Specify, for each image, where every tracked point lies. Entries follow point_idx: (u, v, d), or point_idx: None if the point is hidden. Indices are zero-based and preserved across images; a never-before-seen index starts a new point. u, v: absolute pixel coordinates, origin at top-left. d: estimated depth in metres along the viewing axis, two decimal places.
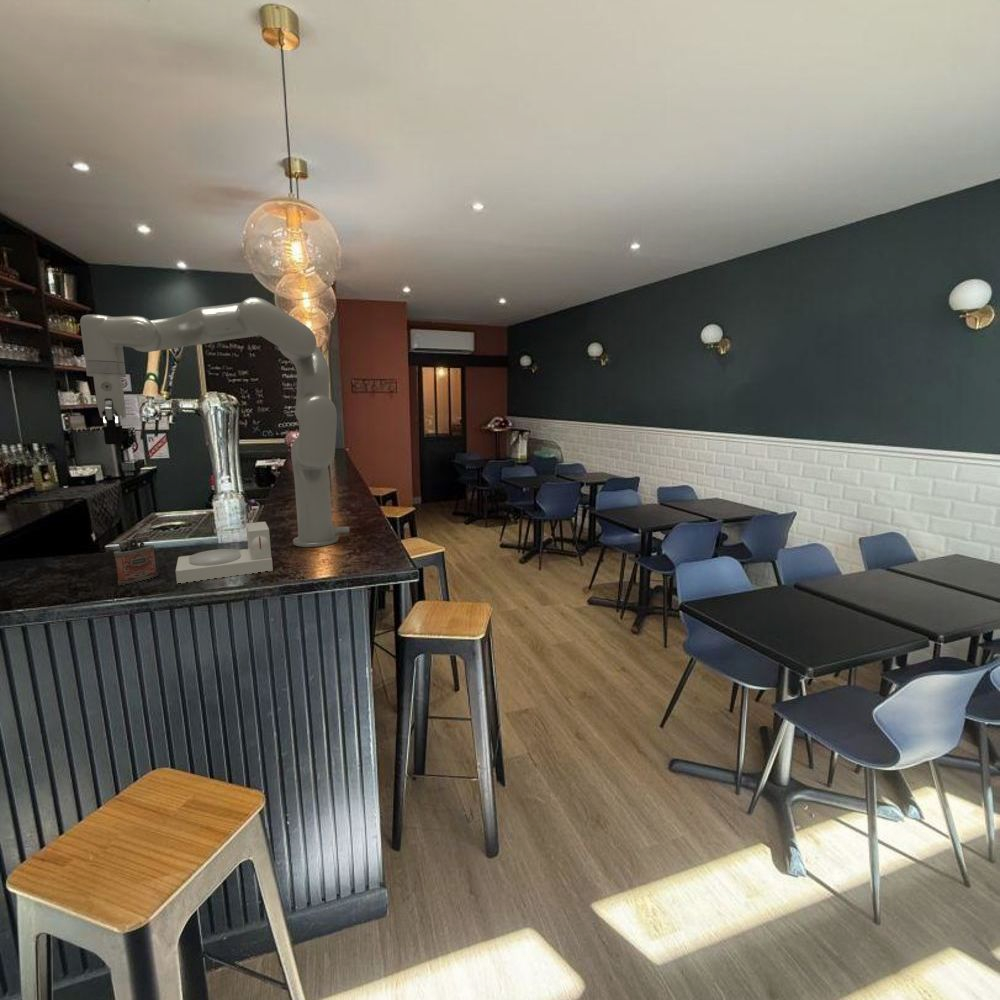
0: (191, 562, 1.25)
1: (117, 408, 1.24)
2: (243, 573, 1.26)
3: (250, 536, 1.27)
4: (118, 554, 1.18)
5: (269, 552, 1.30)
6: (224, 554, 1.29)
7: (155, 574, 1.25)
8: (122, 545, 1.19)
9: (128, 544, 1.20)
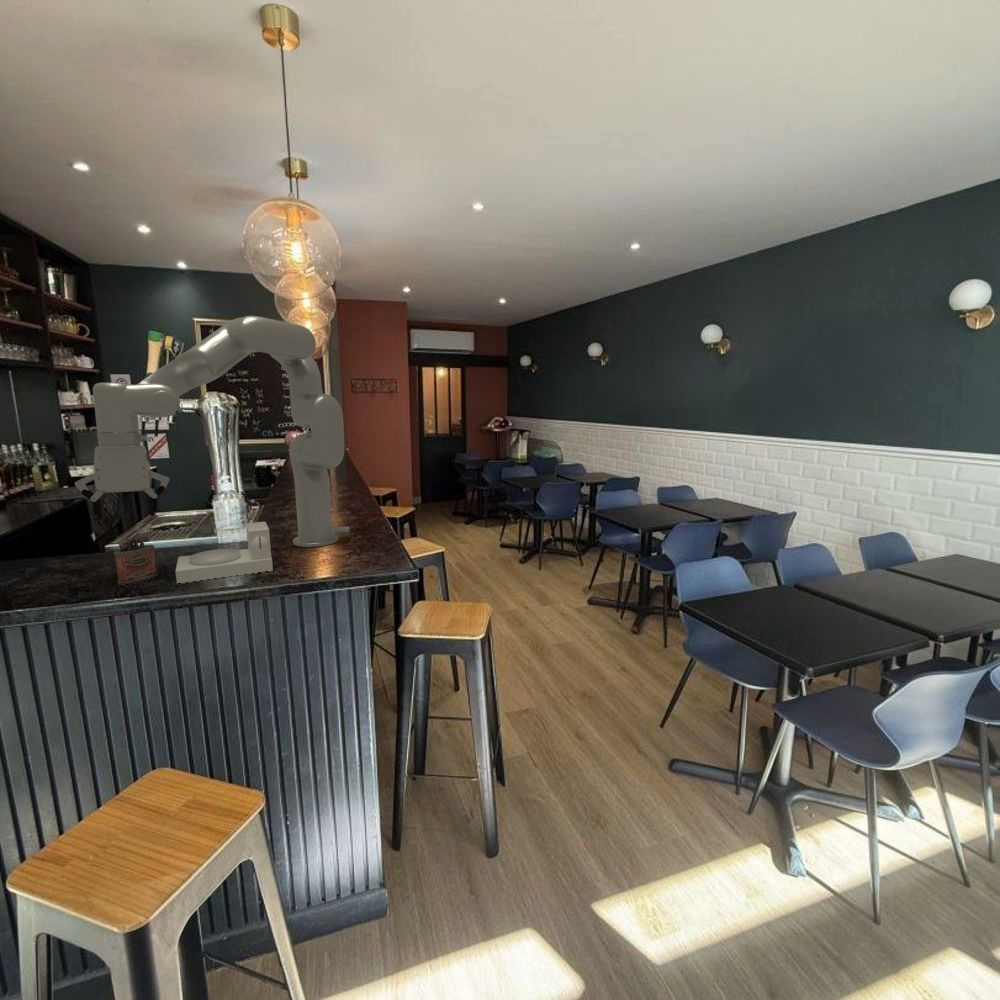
0: (191, 562, 1.25)
1: (151, 478, 1.22)
2: (243, 573, 1.26)
3: (250, 536, 1.27)
4: (118, 554, 1.18)
5: (269, 552, 1.30)
6: (224, 554, 1.29)
7: (155, 574, 1.25)
8: (122, 545, 1.19)
9: (128, 544, 1.20)
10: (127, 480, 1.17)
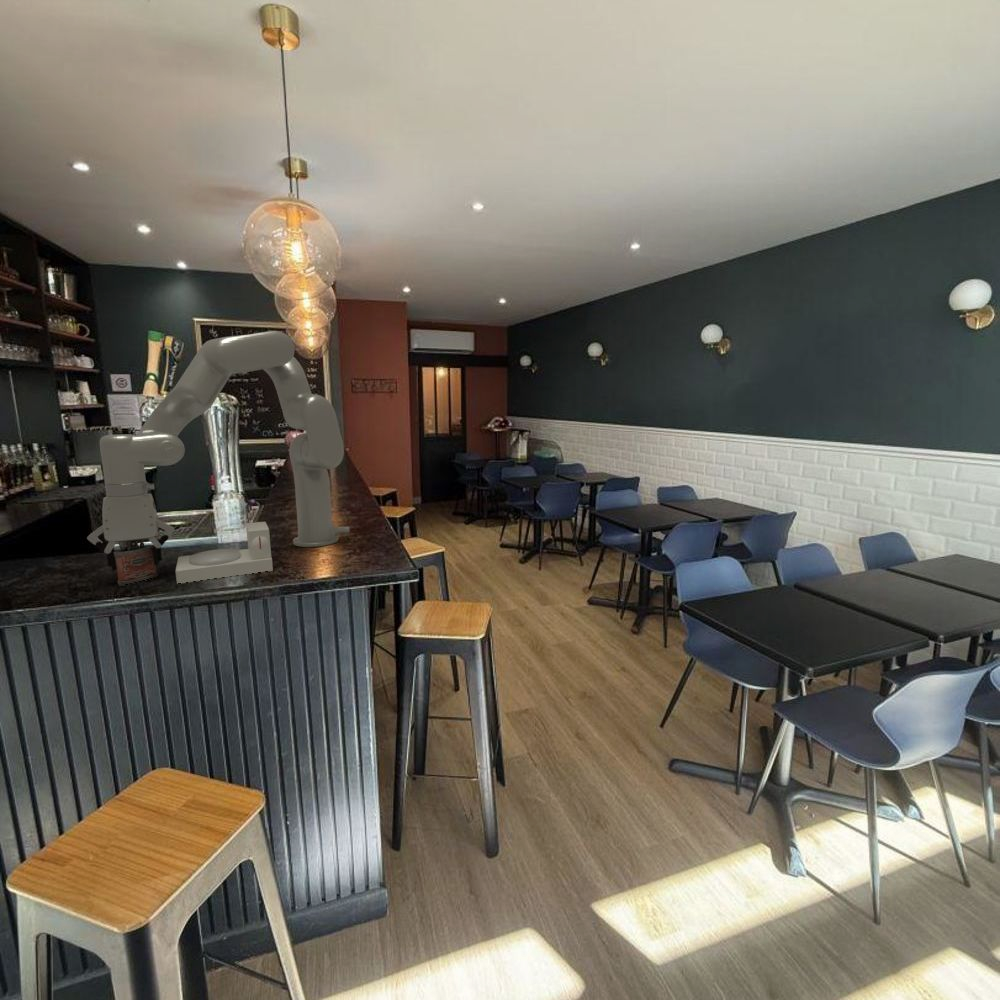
0: (191, 562, 1.25)
1: (158, 527, 1.24)
2: (243, 573, 1.26)
3: (250, 536, 1.27)
4: (118, 554, 1.18)
5: (269, 552, 1.30)
6: (224, 554, 1.29)
7: (155, 574, 1.25)
8: (122, 545, 1.19)
9: (128, 544, 1.20)
10: (135, 529, 1.19)
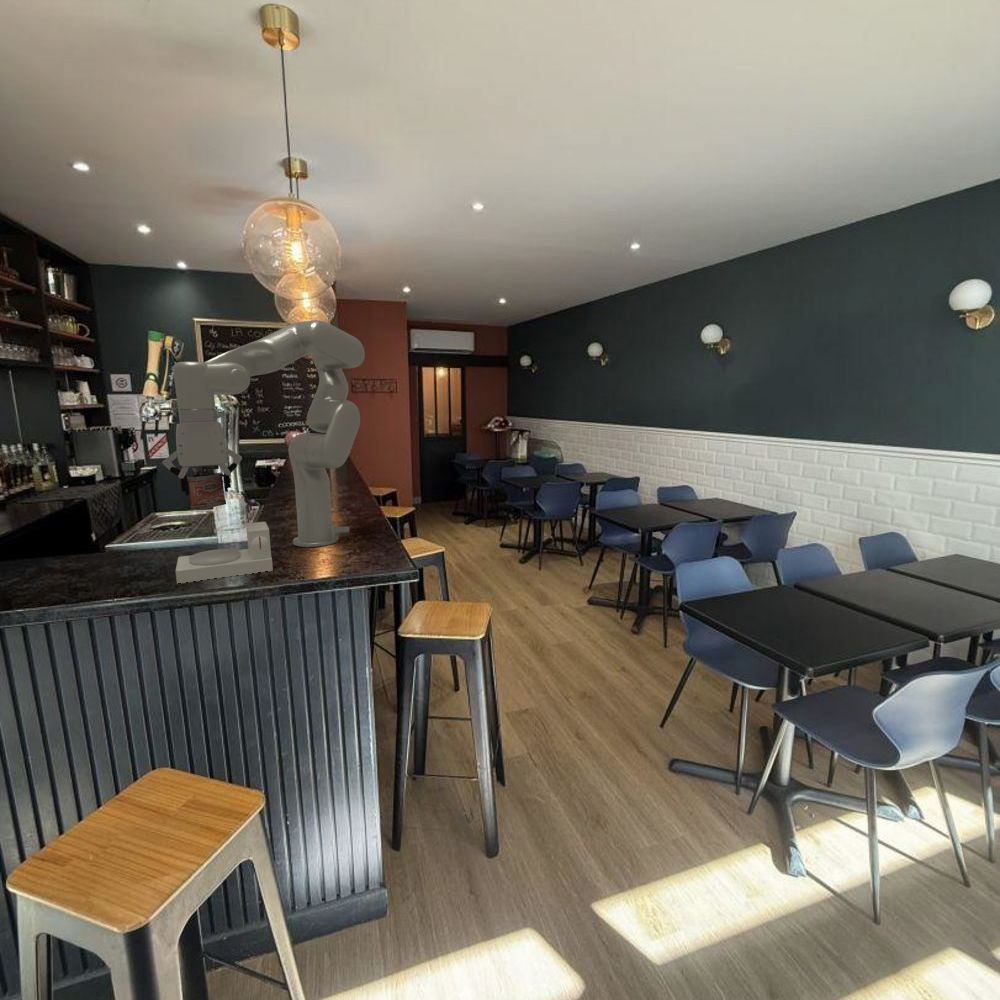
0: (191, 562, 1.25)
1: None
2: (243, 573, 1.26)
3: (250, 536, 1.27)
4: (191, 479, 1.22)
5: (269, 552, 1.30)
6: (224, 554, 1.29)
7: (224, 501, 1.29)
8: (195, 470, 1.23)
9: (200, 470, 1.24)
10: (206, 455, 1.23)
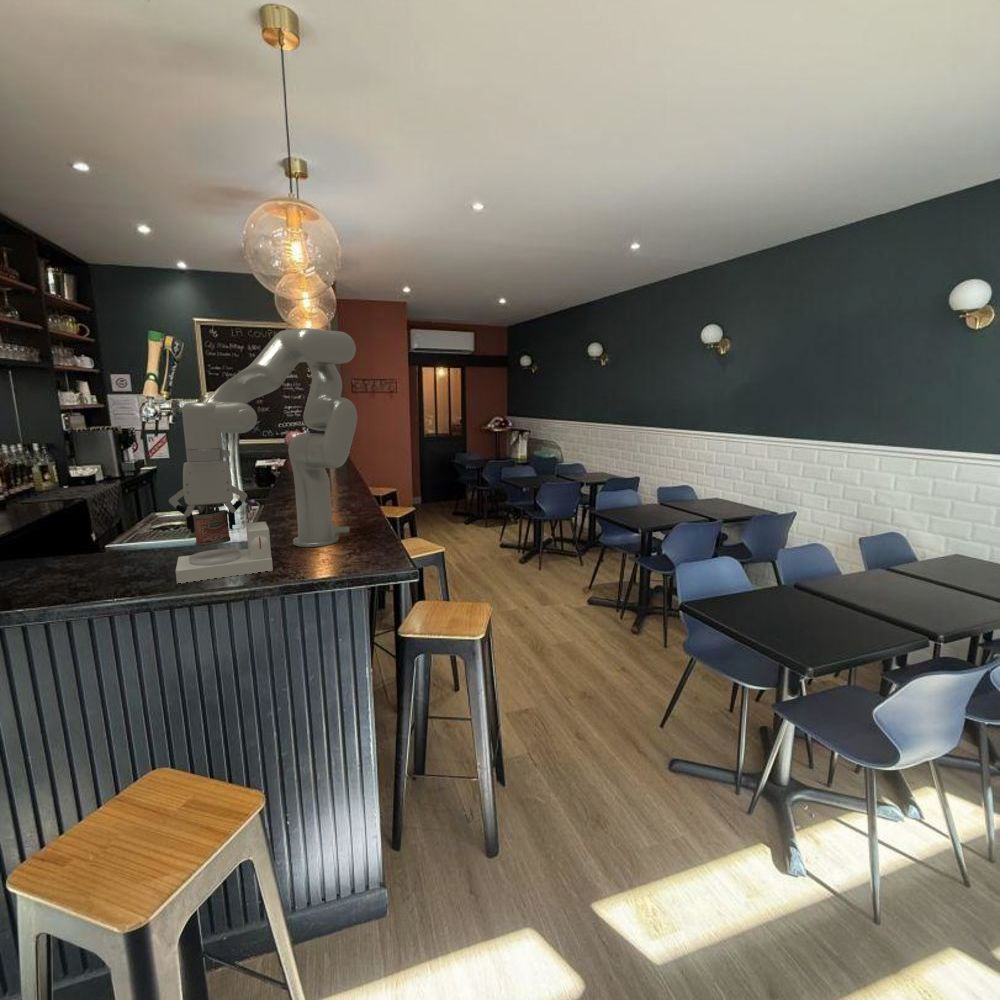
0: (191, 562, 1.25)
1: None
2: (243, 573, 1.26)
3: (250, 536, 1.27)
4: (197, 517, 1.23)
5: (269, 552, 1.30)
6: (224, 554, 1.29)
7: (228, 538, 1.30)
8: (200, 508, 1.24)
9: (206, 508, 1.25)
10: (212, 493, 1.25)
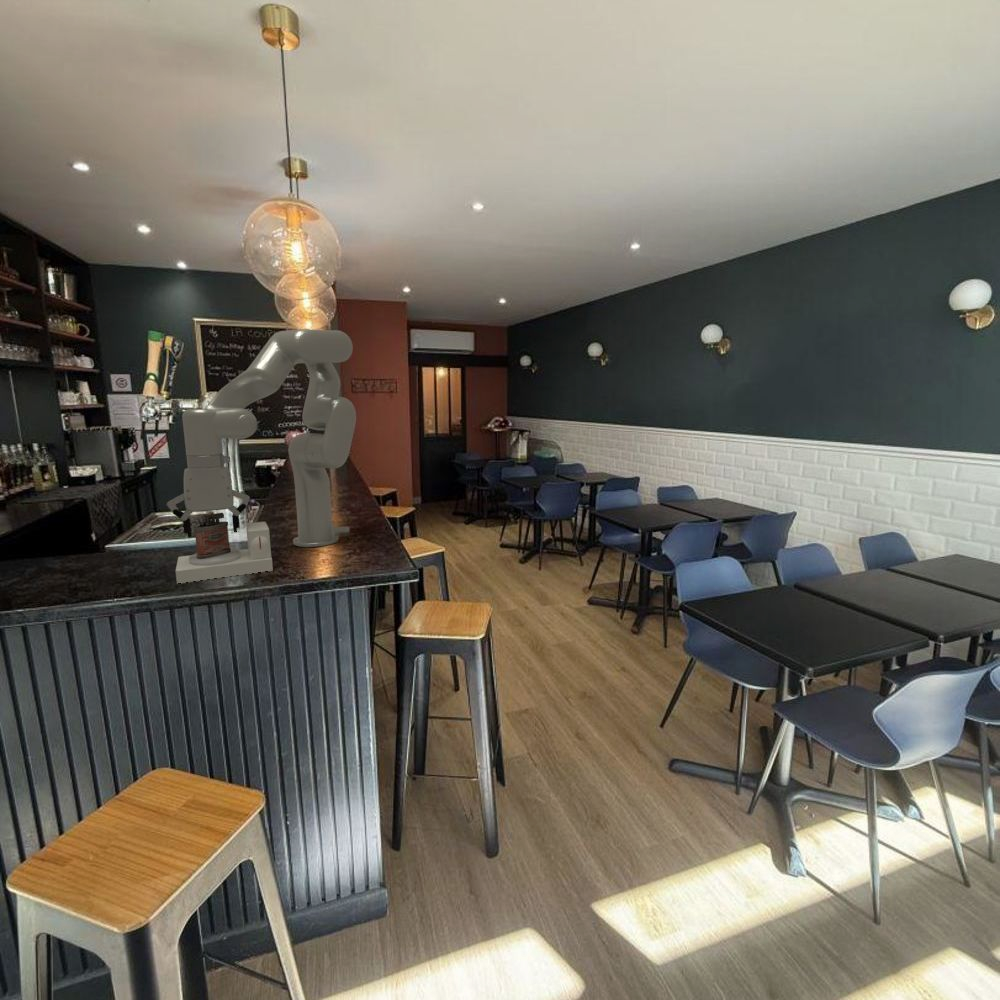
0: (191, 562, 1.25)
1: None
2: (243, 573, 1.26)
3: (250, 536, 1.27)
4: (198, 529, 1.24)
5: (269, 552, 1.30)
6: (224, 554, 1.29)
7: (229, 549, 1.31)
8: (201, 521, 1.25)
9: (207, 520, 1.26)
10: (213, 499, 1.25)
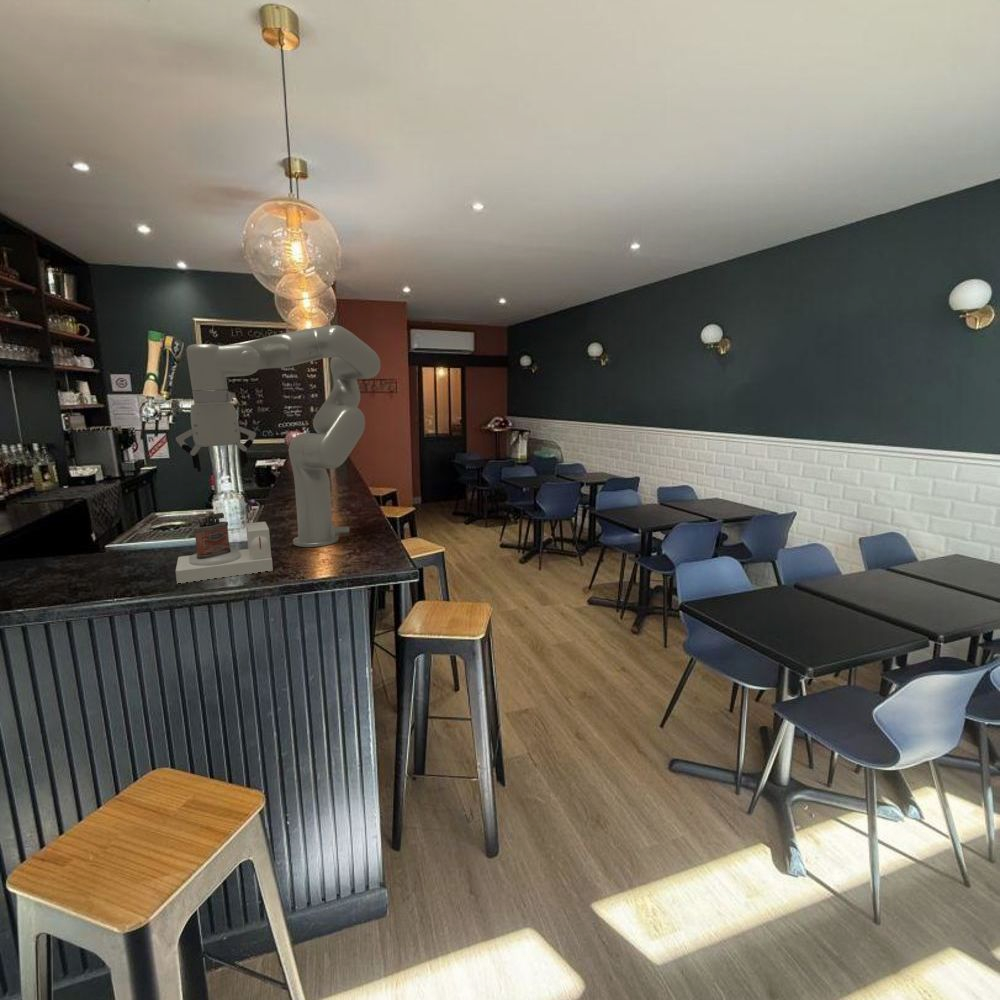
0: (191, 562, 1.25)
1: None
2: (243, 573, 1.26)
3: (250, 536, 1.27)
4: (198, 529, 1.24)
5: (269, 552, 1.30)
6: (224, 554, 1.29)
7: (229, 549, 1.31)
8: (201, 521, 1.25)
9: (207, 520, 1.26)
10: (221, 434, 1.28)
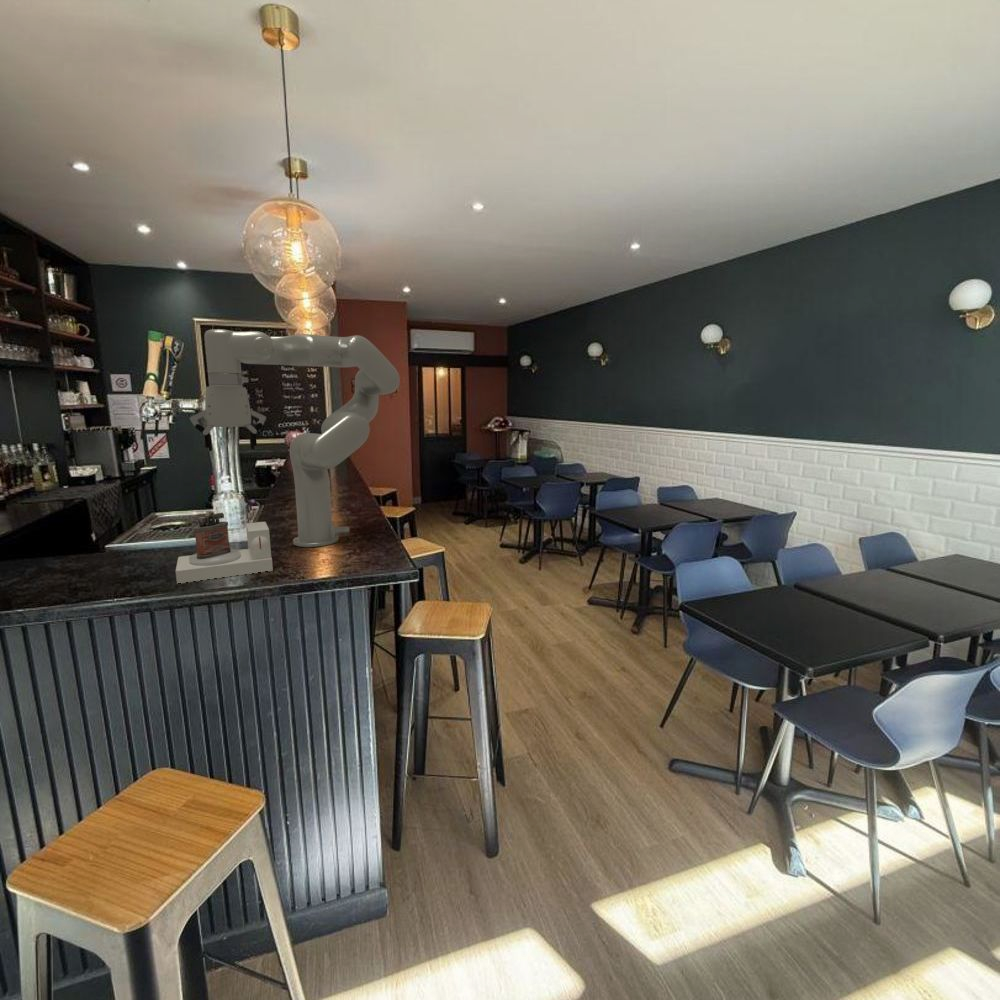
0: (191, 562, 1.25)
1: None
2: (243, 573, 1.26)
3: (250, 536, 1.27)
4: (198, 529, 1.24)
5: (269, 552, 1.30)
6: (224, 554, 1.29)
7: (229, 549, 1.31)
8: (201, 521, 1.25)
9: (207, 520, 1.26)
10: (233, 416, 1.34)
